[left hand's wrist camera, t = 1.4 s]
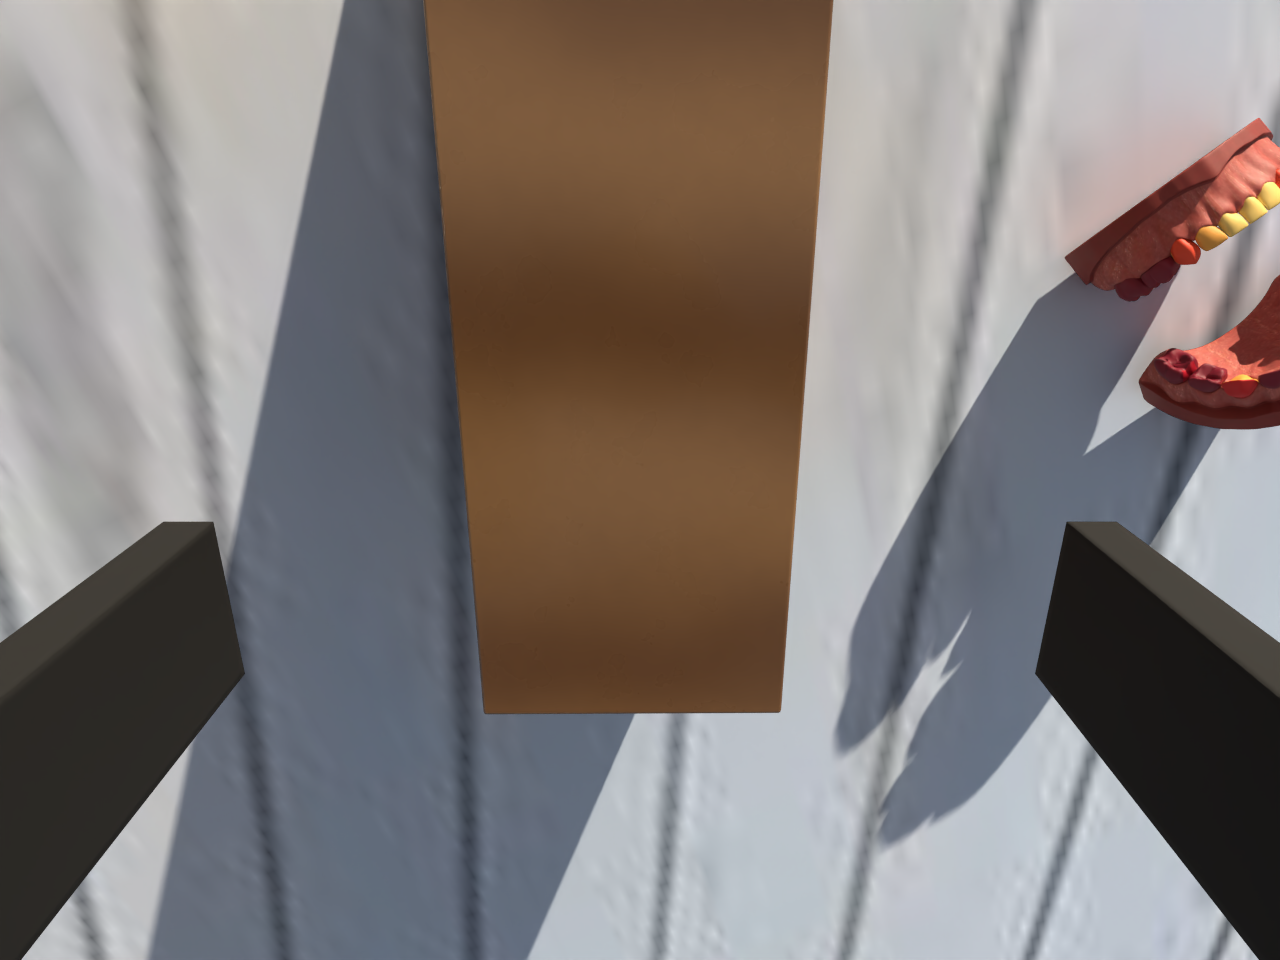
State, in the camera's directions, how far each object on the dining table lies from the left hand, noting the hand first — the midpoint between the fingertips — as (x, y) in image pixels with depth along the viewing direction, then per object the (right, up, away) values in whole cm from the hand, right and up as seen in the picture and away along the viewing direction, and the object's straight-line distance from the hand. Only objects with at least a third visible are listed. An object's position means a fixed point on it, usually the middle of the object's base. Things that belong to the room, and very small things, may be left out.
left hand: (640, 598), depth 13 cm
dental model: (+16, +8, +11) cm, 21 cm away
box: (0, +14, +9) cm, 16 cm away
